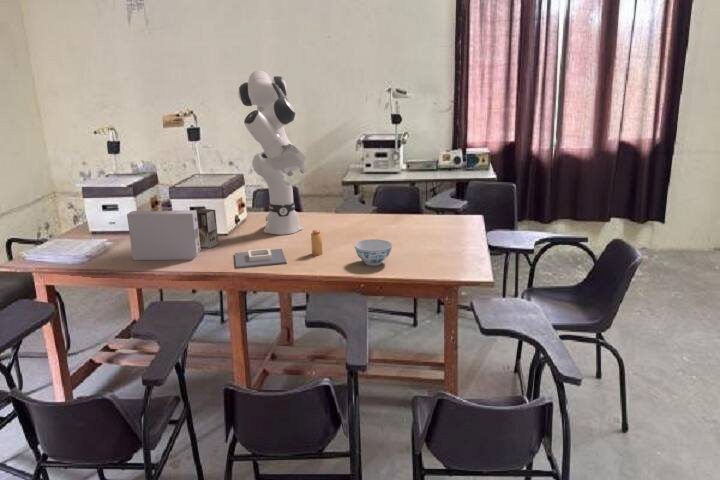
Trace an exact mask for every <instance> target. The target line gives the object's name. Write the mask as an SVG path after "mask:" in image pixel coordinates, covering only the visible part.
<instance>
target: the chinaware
mask: <svg viewBox="0 0 720 480" xmlns="http://www.w3.org/2000/svg"><path fill="white" fill-rule="evenodd" d="M392 248H393V244H392V242H390V241H389V240H385V239H379V238H378V239H377V238H375V239H373V238H372V239H363V240H359V241H357V242H355V243H354V249H355V252H356V254H357V256H358V258H360V259H361V261H363V262H364V263H365V264H366V265H367V266H371V265H372V267H373V266H380V265H381V264H382V263H383V261H384V260H385V261H386V259H387V258H388V257H389V256H390V254H391V251H392Z"/></svg>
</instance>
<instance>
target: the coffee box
mask: <svg viewBox="0 0 720 480" xmlns="http://www.w3.org/2000/svg"><path fill="white" fill-rule="evenodd" d="M195 210H196V211H197V220H198V230H199V240H200V248H209V249H211V248H213V247H215V246H218V245H219V237H218V224H217V215H216V209H208V208H200V207H199V208H197V209H195Z"/></svg>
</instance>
